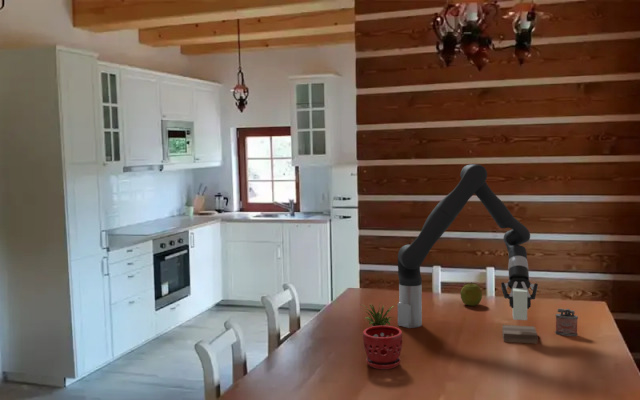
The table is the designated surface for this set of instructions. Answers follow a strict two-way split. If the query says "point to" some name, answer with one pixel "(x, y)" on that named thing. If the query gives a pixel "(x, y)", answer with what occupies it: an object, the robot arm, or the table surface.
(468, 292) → the apple
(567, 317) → the lighter
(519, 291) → the sage pillar
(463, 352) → the table surface
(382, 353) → the plant pot
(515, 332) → the walnut base
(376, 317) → the house plant
